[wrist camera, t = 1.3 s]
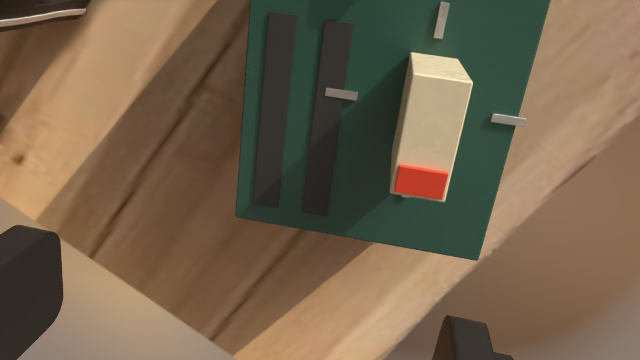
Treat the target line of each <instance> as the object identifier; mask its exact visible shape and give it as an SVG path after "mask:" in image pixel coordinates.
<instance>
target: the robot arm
mask: <svg viewBox="0 0 640 360" xmlns="http://www.w3.org/2000/svg"><path fill="white" fill-rule="evenodd" d="M62 301H63V281H62V262H61V244H60V239H59V236H58V235H57V234H56V233H55V232H51V231H46V230H41V229H37V228H32V227H27V226H22V225H16V226H13V227H11V228H10V229H8V230H7V231H5V232H4V233H2V234H0V360H17V359H18V358H19V357H20V356H21V355H22V354H23V353H24V352H25V351H26V350H27V349H28V348H29V347H30V346H31V345H32V344H33V343H34V342H35V341H36V340H37V339H38V338H39V337H40V336H41V335H42V334H43V333H44V332H45V331H46V330H47V329H48V328H49V327H50V326H51V324H52V323H53V322H54V321H55V319H56V317H57V315H58V313H59V311H60V309H61V305H62ZM432 360H514V359H513V358H512V357H511V356H509V355H504V354H499V353H495V352H493V348H492V344H491V339H490V335H489V331H488V327H487V325H486V324H485V323H482V322H477V321H473V320H467V319H463V318H458V317H454V316H449V315H447V316H446V317H445V318H444V321H443V323H442V326H441V330H440V334H439V337H438V340H437V344H436V347H435V351H434V355H433V358H432Z"/></svg>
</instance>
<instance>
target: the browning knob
mask: <svg viewBox="0 0 640 360" xmlns="http://www.w3.org/2000/svg"><path fill="white" fill-rule="evenodd" d="M472 86H473V82H472V80H471V79H470V77H469V76H468V74H467V73H466V71H465V70H464V68H463V66H462V65H461V63H460V62H459V60H458V59H455V58H448V57H441V56H434V55H428V54H421V53H414V52H411V53H410V56H409V62H408V67H407V72H406V78H405V83H404V88H403V94H402V99H401V104H400V110H399V115H398V120H397V126H396V131H395V136H394V142H393V147H392V160H391V178H390V193H392V194H398V195H404V196H409V197H415V198H421V199H427V200H433V201H439V202H445V199H446V195H447V191H448V186H449V182H450V178H451V174H452V170H453V166H454V161H455V157H456V153H457V149H458V145H459V140H460V136H461V132H462V128H463V124H464V119H465V115H466V111H467V107H468V103H469V98H470V94H471V90H472Z"/></svg>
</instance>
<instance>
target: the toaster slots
mask: <svg viewBox="0 0 640 360" xmlns="http://www.w3.org/2000/svg"><path fill="white" fill-rule="evenodd" d="M297 17H298V15H293V14H286V13H279V12H272V11H269V22H268V34H267V46H266V58H265V70H264V82H263V94H262V106H261V118H260V130H259V143H258V155H257V167H256V179H255V191H254V204H258V205H264V206H270V207H275V208H278V201H279V192H280V182H281V172H282V162H283V153H284V143H285V133H286V124H287V114H288V104H289V94H290V85H291V75H292V65H293V56H294V46H295V36H296V26H297ZM353 27H354V23H348V22H341V21H334V20H327V19H326V20H325V27H324V35H323V43H322V51H321V60H320V68H319V76H318V84H317V92H316V100H315V108H314V116H313V125H312V133H311V141H310V149H309V157H308V165H307V173H306V182H305V190H304V198H303V206H302V212H304V213H309V214H315V215H320V216H326V215H327V208H328V201H329V194H330V187H331V180H332V173H333V166H334V160H335V153H336V146H337V139H338V132H339V125H340V118H341V111H342V104H343V98H336V97H330V96H325V92H326V88H332V89H339V90H345V83H346V76H347V69H348V62H349V55H350V48H351V41H352V34H353Z"/></svg>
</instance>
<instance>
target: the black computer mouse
mask: <svg viewBox="0 0 640 360" xmlns="http://www.w3.org/2000/svg"><path fill="white" fill-rule="evenodd" d="M89 2H90V0H0V32H4V31H11V30H17V29H22V28H27V27H32V26H36V25H41V24H45V23H50V22H57V21H64V20H74V19H78V18H79V17H80V16H81V15H82V14H84V13H85V11H86V10H87V8H86V7H87V5H88V3H89Z"/></svg>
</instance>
